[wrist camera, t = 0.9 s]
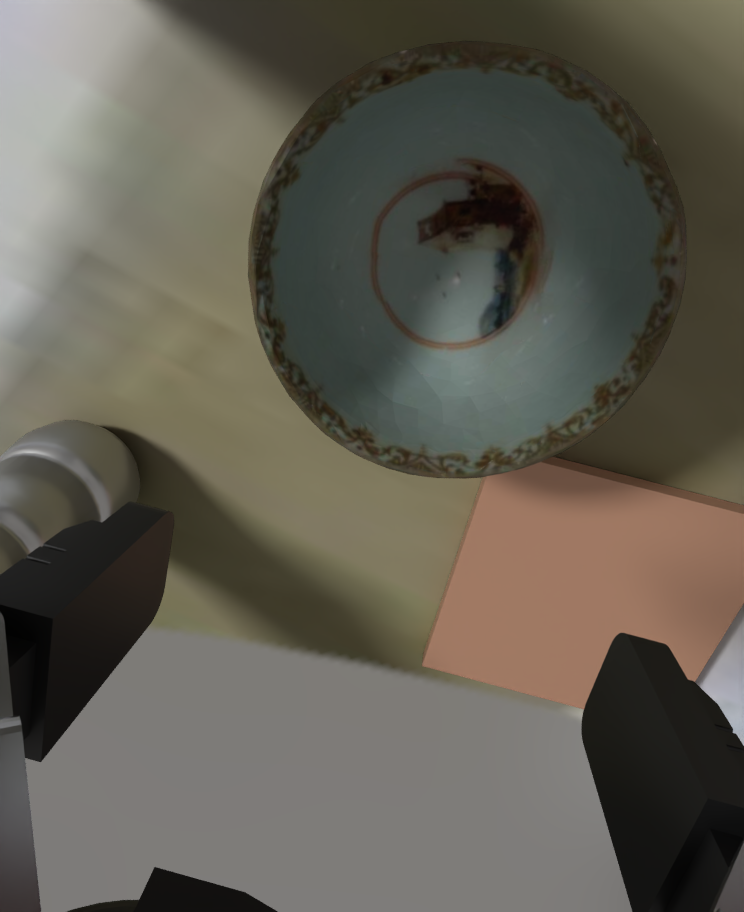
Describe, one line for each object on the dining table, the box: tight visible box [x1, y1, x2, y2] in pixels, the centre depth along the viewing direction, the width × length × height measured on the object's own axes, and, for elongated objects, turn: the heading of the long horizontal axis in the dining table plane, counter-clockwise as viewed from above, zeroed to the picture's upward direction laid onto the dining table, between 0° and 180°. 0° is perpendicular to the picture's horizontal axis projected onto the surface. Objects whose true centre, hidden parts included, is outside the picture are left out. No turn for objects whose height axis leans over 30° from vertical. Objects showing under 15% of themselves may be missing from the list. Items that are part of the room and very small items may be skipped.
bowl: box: [248, 41, 687, 478], centre depth 23 cm, size 14×13×8 cm
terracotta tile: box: [422, 457, 744, 709], centre depth 33 cm, size 14×14×1 cm
